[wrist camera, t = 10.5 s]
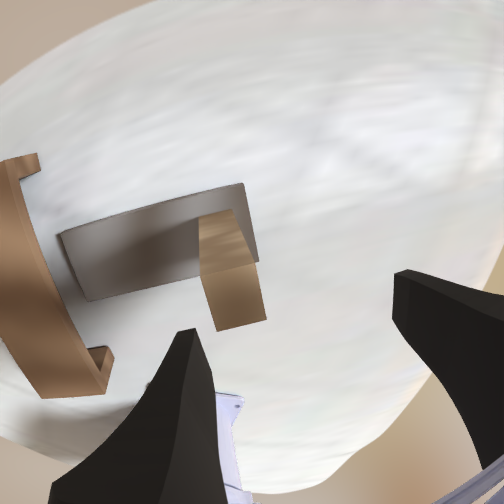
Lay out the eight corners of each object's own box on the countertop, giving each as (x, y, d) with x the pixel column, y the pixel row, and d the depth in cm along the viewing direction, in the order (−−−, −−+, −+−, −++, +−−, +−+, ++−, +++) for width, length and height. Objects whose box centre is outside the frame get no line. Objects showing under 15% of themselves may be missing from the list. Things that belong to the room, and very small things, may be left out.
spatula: (242, 182, 19) (276, 223, 11) (257, 256, 21) (294, 336, 13) (64, 230, 18) (-4, 295, 10) (90, 296, 20) (48, 383, 12)
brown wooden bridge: (114, 358, 22) (105, 394, 18) (55, 366, 21) (41, 398, 18) (36, 152, 16) (4, 160, 12) (-23, 182, 15) (-57, 195, 11)
